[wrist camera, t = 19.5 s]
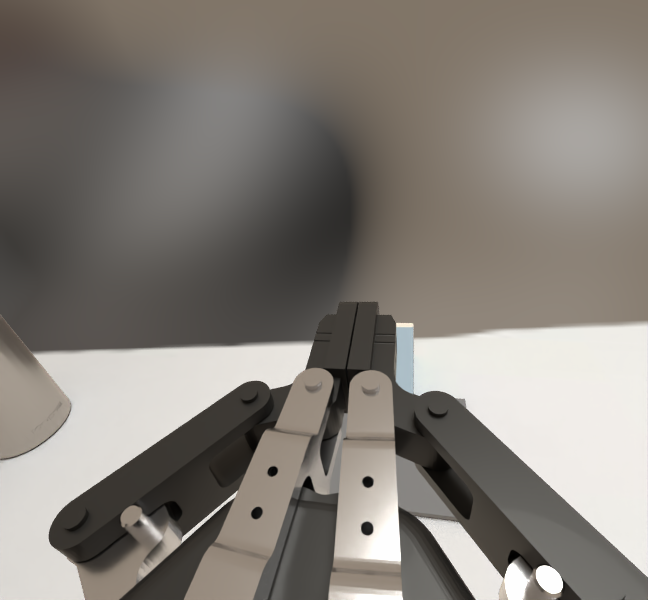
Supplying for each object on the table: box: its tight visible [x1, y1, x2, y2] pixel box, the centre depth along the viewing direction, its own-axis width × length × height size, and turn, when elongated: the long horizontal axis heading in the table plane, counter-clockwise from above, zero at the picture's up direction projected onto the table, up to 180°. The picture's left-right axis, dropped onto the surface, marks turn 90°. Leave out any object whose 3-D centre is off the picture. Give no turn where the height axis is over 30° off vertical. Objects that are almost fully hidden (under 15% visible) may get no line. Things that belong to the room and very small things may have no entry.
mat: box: [330, 399, 466, 521], centre depth 36 cm, size 14×12×1 cm
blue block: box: [396, 323, 414, 394], centre depth 41 cm, size 4×4×12 cm
